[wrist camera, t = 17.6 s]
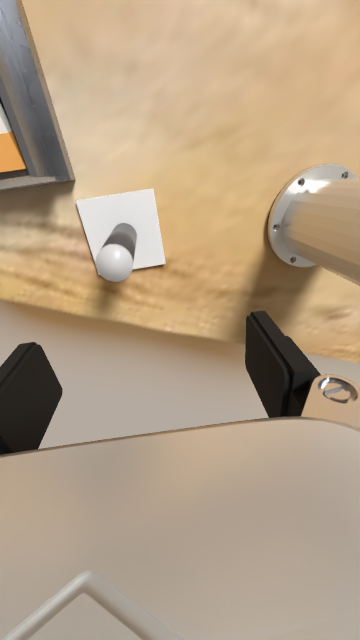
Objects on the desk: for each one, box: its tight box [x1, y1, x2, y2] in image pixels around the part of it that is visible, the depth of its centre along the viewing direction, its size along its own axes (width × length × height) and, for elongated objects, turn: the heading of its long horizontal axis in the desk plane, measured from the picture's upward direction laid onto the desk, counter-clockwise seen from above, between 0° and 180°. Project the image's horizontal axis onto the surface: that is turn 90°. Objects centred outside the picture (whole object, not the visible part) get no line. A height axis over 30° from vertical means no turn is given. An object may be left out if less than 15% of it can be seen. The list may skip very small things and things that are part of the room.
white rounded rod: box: [95, 223, 137, 282], centre depth 25 cm, size 3×3×12 cm
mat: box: [75, 188, 166, 275], centre depth 31 cm, size 9×9×1 cm
